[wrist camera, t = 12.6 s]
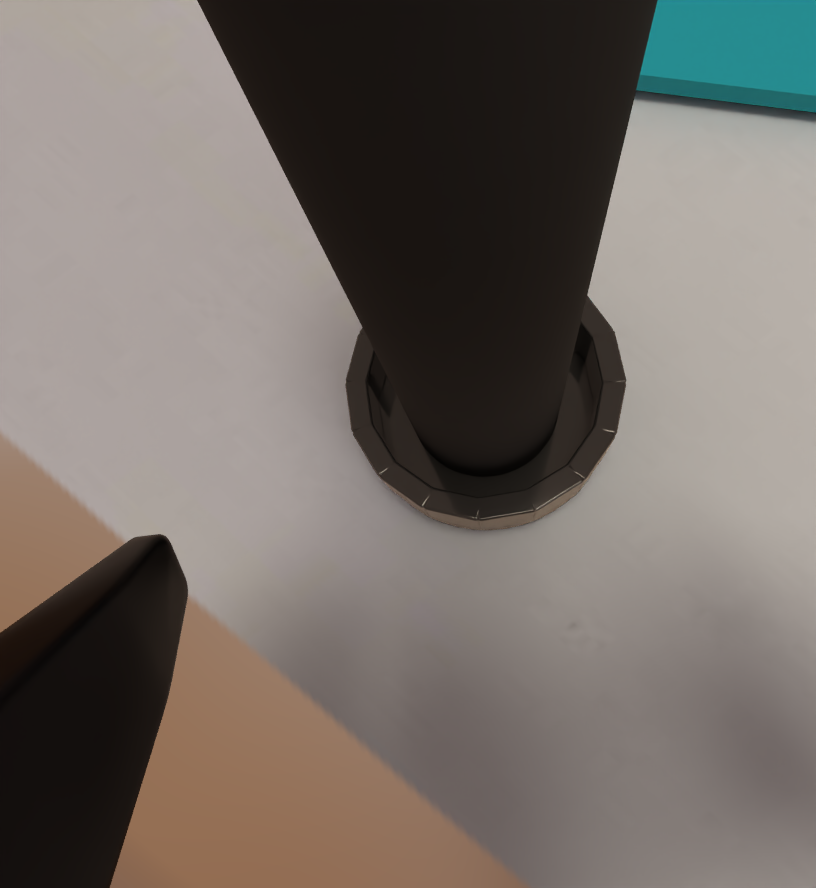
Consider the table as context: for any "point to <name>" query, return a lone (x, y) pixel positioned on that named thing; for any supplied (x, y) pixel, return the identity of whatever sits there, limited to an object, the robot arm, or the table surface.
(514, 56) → the post
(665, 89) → the floppy disk
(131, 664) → the robot arm
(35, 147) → the table surface
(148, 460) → the table surface
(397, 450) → the socket pad
